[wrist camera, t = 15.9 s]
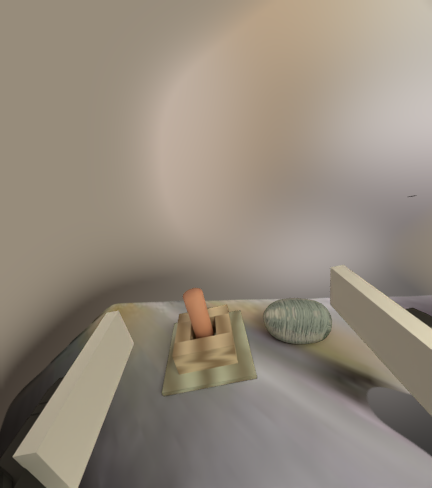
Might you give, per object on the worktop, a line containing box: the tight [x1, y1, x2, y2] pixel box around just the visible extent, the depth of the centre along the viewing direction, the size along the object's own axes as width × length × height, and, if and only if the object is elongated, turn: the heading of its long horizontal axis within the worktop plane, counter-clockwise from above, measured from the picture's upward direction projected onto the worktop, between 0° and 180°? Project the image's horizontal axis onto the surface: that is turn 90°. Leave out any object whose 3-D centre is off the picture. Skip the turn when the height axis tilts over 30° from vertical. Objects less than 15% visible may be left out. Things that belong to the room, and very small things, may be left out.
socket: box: [162, 305, 257, 396], centre depth 46 cm, size 18×18×6 cm
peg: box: [183, 288, 214, 339], centre depth 44 cm, size 4×4×14 cm
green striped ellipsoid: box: [263, 298, 332, 344], centre depth 44 cm, size 14×10×10 cm
